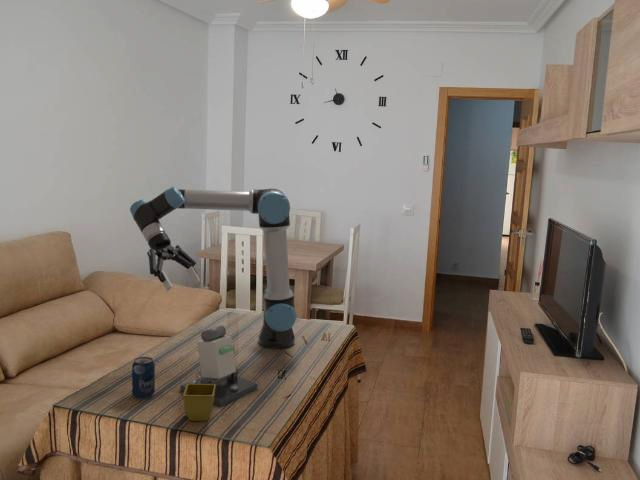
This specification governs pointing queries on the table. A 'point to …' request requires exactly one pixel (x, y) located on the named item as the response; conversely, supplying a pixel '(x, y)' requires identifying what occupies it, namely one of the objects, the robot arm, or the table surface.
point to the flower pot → (199, 401)
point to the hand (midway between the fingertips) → (184, 285)
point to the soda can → (143, 377)
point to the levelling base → (226, 388)
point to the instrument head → (216, 354)
